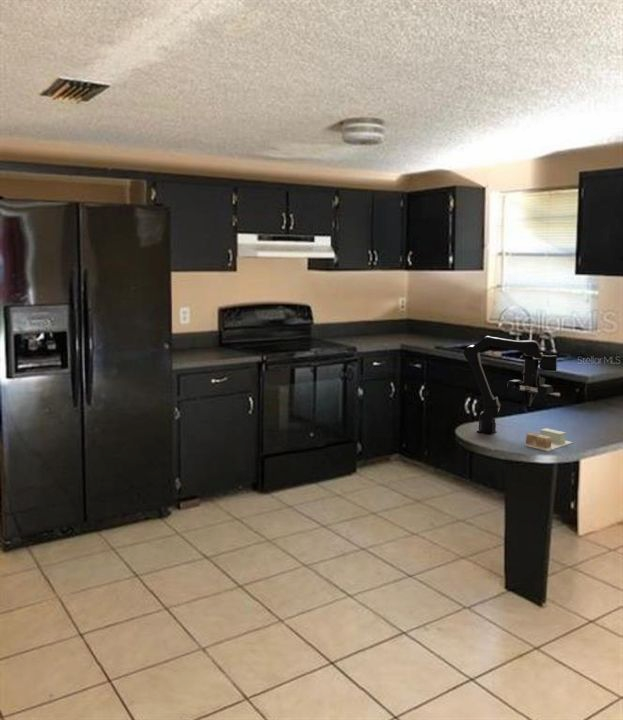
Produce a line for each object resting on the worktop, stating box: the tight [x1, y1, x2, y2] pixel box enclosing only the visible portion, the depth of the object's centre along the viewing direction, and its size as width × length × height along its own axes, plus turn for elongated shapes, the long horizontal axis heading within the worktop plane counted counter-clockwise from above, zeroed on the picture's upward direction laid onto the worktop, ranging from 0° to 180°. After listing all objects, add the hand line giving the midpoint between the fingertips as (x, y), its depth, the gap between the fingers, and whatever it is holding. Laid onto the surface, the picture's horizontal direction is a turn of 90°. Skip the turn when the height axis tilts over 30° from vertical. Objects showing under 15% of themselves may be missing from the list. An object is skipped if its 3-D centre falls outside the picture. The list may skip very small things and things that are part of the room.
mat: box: [524, 440, 574, 452], centre depth 284 cm, size 10×19×1 cm, turn 131°
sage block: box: [540, 427, 567, 443], centre depth 288 cm, size 4×4×9 cm
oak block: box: [525, 432, 552, 448], centre depth 281 cm, size 4×4×9 cm
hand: (528, 406), depth 295 cm, fingers closed
